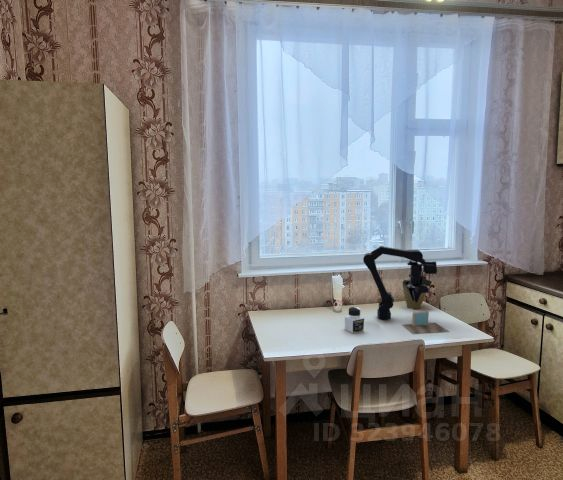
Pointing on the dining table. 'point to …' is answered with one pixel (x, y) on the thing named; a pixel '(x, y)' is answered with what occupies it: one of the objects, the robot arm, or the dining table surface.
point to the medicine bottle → (354, 321)
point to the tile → (420, 318)
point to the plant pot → (409, 301)
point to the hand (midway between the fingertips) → (414, 301)
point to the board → (425, 328)
